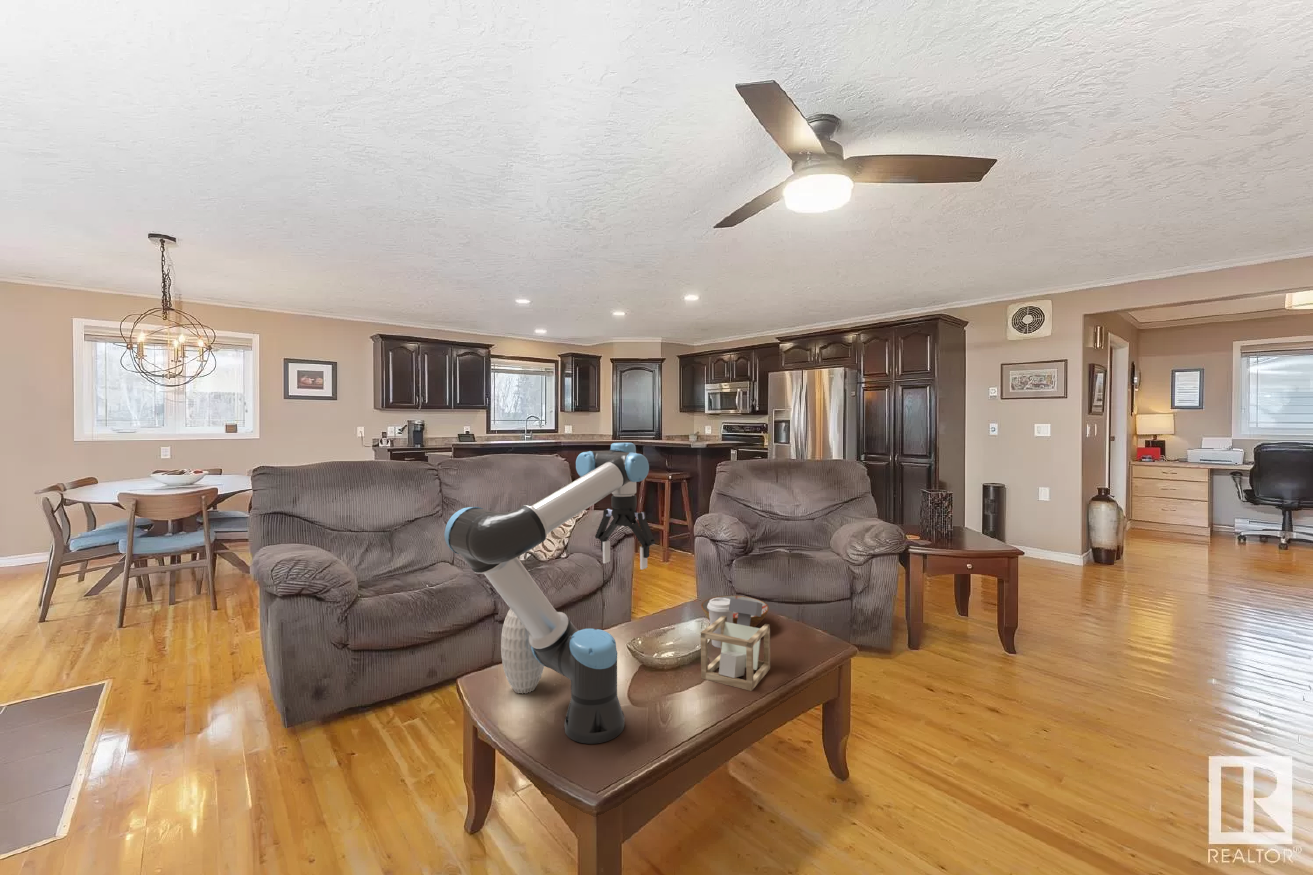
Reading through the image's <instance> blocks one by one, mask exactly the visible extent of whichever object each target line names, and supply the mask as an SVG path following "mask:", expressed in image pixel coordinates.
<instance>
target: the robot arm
mask: <svg viewBox="0 0 1313 875" xmlns="http://www.w3.org/2000/svg"><path fill="white" fill-rule="evenodd" d="M575 470H576V473H577V474H578V476H579V478H577V479H575V480H574V481H572V482H570V483H568V484H566V485H565V486H563V487H561V488H560V489H557V490H556V491H555V492H553V493H551V494H549V495H547V496H546V497H544V498H542V499H541V500H539V501H538V502H537V501H536V503H534V504H531V505H526V504H523V505H522V506H520V507H518V508H516V509H514V510H511V511H506V512H498V511H493V510H488V509H484V508H483V507H479V506H469V507H464V508H460V509H459V510H457V511H456V512H455V513H453V514H452V515H451V517H450V518H449V519H448V521H447V523H446V524H445V525H446V526H445V530H444V540H445V543H446V546H447V547H448V548H449V549H450V550H451V551H452V552H453V553H455V554H457V555H460V556H461V557H462V558H463V560H464V561H465V563H466V564H467V565H468V566H469V567H470V569H471V571H473V573H475V574H480V575H484V576H485V577H486V579H487V580H488V581H489V583H490V584H491V585H492V586H493V588H494V589H495V591H496V592H497V593H498V594H499V595H500V597H501V598H502V600H503V601H504V602H505V604H506V605H507V606H508V608H509V609H511V610H512V611H513V612H514V614H515V615H516V616H517V618H518V619H519V620H520V622H521V623H522V624H523V625H524V627H525V628H526V629H527V631H528V632H529V633H530V636H529V643H530V645H531V649H532V653H533V655H534V657H535V658H536V659H537V660H538V661H539V662H540V663H541V664H542V665H543V666H544V668H547V669H551V670H553V671H555V672H556V673H558V674H559V675H562V676H564V677H565V678H567V679H569V681H570V694H571V695H570V696H571V697H570V701H569V705H568V708H567V711H566V714H565V718H564V733H565V734H566V736H567V738H569V739H570V740H572V741H574V742H577V743H581V744H585V745H586V744H588V745H593V744H595V745H596V744H602V743H606V742H608V741H609V742H610V741H611V740H613V739H615V738H617V737H618V736H620V735H621V733H622V732H623V731H624V729H625V714H624V711H623V710H622V706H621V703H620V699H619V697H618V650H617V649H618V648H617V642H616V639H615V637H614V636H613V635H611V634H610V633H609V632H608V631H605V630H603V629H600V628H599V629H598V628H596V629H595V628H582V629H578V628H577V627H576V626H575V624H573V622H572V621H571V620H570V618H569V616H567V614H566V613H565V612H562V611H557V610H556V609H555V608H554V606H553V605H552V603H551V602H550V601H549V599H548V598H547V596H546V595H545V594H544V592H543V591H542V590H541V588H540V586H539V585H538V584H537V582H536V581H535V580H534V578H533V576H531V574H530V572H529V571H528V570H527V569H526V567H525V565H524V564H523V563H522V562H521V560H520V558H518V557H520V556H522V555H524V554H526V553H528V552H529V551H531V550H533V549H534V548H536V547H538V546H540V545H541V544H542V543H544V542H545V541H546V540H547V537H548V534H550V533H552V531H554V530H555V529H557V528H558V527H560V526H562V525H564V524H565V523H567V522H568V521H570V520H571V519H573V518H574V517H576V516H578V515H579V514H581V513H582V512H584V511H585V510H587V509H588V508H590V507H591V506H594V505H595V504H597V503H598V502H599V501H601V500H603V499H604V498H606V497H607V496H609V495H610V494H612V496H611V497H610V498H611V503H610V504H611V508H607V509H604V510H603V512H602V518H601V521H600V523H599V525H598V528H597V531H596V533H595V535H594V537H595V539H598V540H599V541H600V551H601V552H602V564H607V563H609V562H611V540H609V539H610V537H611V535H612V534H613V533H614V531H615V530H616V528H617V527H618V526H619V527H621V526H623V527H624V528H625V527H626V528H629V529H631V531H632V533H633V534H634V535H635V537H636V539H637V540H638V541H639V543H640V545H641V546H639V568H640V569H639V570H645V569H647V568H648V558H649V557H650V547H651V546H653V545H655V544H656V540H655V537H654V534H653V533H652V530H651V527H650V525H649V523H648V520H647V514H646V511H641V512H637V507H638V506H637V504H638V500H637V495H636V494H637V482H638V483H639V482H643V481H644V480H645V479H646V478H647V476H648V475H649V472H650V464H649V460H648V458H647V457H646V456H645V455H644V454H641V453H637V447H636V444H635V443H632V442H613V443H611V444H610V449H609V450H592V451H591V450H589V451H583V452H581V453H579V454H578V456H577V457H576V460H575ZM611 517H612V520H611ZM610 520H611V522H610ZM609 523H610V524H609Z"/></svg>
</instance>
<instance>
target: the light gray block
mask: <svg viewBox="0 0 1313 875" xmlns="http://www.w3.org/2000/svg"><path fill="white" fill-rule="evenodd" d="M720 654H721V657H720V666H719V667H718V668H719V669H718V673H719V674H720V675H724V676H728V677H732V678H739V677H742V676H745V671H746V667H745V661H746V654H742V653H738V652H733V651H729V652H723V653H721V652H720Z"/></svg>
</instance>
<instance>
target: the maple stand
mask: <svg viewBox="0 0 1313 875" xmlns="http://www.w3.org/2000/svg"><path fill="white" fill-rule="evenodd" d="M725 622H727V616H721V617H720V618H719V619H718V620H716V621H715V622H714V623H712V624H711V625H710V624H709V626H707V627H706V628H704V629H703V630H702V631H701V632H700V671H701V672H700V678H701V679H702V680H706V681H711V682H715V683H719V684H721V685H727V686H729V687H730V686H731V687H735V688H739V689H741V690H742V689H743V690H745V691H749V692H752V691H753V690H754V689H755V688H756V686H758V684H759V683H760V682H761V680H762V679H763V678H764V677H765V675H767V673H768V672H769V671H770V670H771V625H770V624H768V623H765V624H764V625H762V626H761V627H759V628H760V629H759V630H758V631H757V632H756V633H755V634H754V635H753V636H752V637H751V638H750V639H749V640H745V639H741V638H736V637H731V636H726V635H723V634H724V627H725ZM720 626H721V634H716V633H713V632H714V631H715V630H716V629H718V628H719V627H720ZM762 638H763V660H760V659H758V666H757V670H756V672H755V673H754V669H753V646H754V645H755V644H756V643H757V642H758V641H759V640H760V639H761V640H762ZM708 640H711V641H712V640H716V641H720V642H721V648H720V650H721V649H722V642H725V643H730V644H734V645H739V646H744V647H746V667H745V671H746V673H745V674H746V679H743V678H739V677H736V678H732V677H728V676H724V675H720V674H719V672H715V671H716V670H717V669H718V668H719V666H720V656H721V653H720V654H719V655H718V656H717V657H716V658H715V659H713V661H711V662H710V663H709V664H708V662H709V658H708V656H709V655H708V653H709V652H708V650H709V649H708V648H709V647H708V646H709V645H708V644H709V643H708Z"/></svg>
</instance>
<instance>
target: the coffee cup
mask: <svg viewBox="0 0 1313 875" xmlns="http://www.w3.org/2000/svg"><path fill="white" fill-rule="evenodd" d="M712 598H713V597H712ZM729 605H730V599H727V598H713V599H711V600H710V601H709V603H708V605H707V608H708V609H709V618H710V620H709V626H710V625H711V624H712V623H714V622H715V621H716V620H718V619H719V618H720V617H721V616H727V622H729V623H732V622H733V612H732V611H729ZM713 633H716V634H721V626H720V627H719V628H718V629H716V630H715V631H714V632H713ZM711 645H712V646H713V647H715V648H718V649H721V642H720V641H716V640H711Z"/></svg>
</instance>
